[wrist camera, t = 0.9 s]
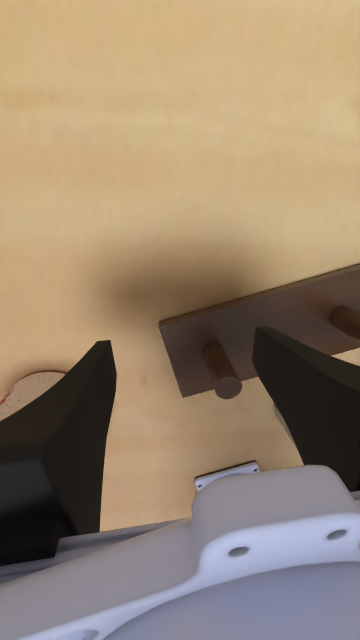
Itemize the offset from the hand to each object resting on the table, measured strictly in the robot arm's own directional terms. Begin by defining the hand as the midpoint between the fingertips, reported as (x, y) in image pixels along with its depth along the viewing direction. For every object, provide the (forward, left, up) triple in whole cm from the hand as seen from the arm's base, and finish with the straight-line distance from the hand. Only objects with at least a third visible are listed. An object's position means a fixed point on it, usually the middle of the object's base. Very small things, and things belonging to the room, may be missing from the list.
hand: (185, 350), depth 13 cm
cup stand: (-6, -8, -10) cm, 15 cm away
